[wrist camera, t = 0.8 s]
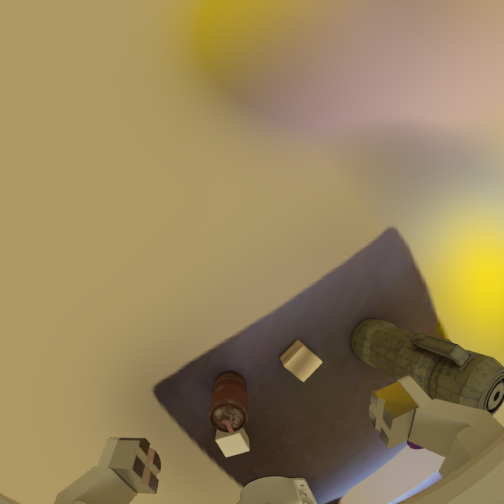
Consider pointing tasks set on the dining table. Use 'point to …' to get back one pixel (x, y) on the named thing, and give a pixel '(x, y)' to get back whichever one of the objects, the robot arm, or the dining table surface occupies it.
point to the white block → (233, 442)
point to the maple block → (300, 360)
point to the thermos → (431, 364)
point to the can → (228, 403)
